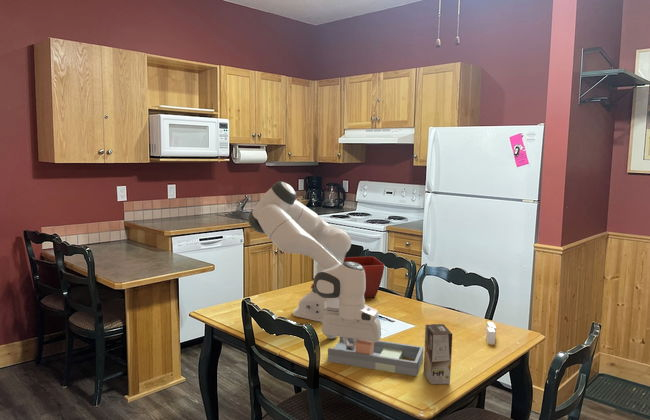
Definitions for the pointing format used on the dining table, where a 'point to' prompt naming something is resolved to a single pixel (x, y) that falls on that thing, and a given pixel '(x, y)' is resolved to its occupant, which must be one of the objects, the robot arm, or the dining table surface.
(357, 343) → the block
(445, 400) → the dining table surface
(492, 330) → the napkin holder
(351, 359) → the tray
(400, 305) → the dining table surface
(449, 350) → the coffee box
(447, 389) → the dining table surface
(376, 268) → the plant pot
